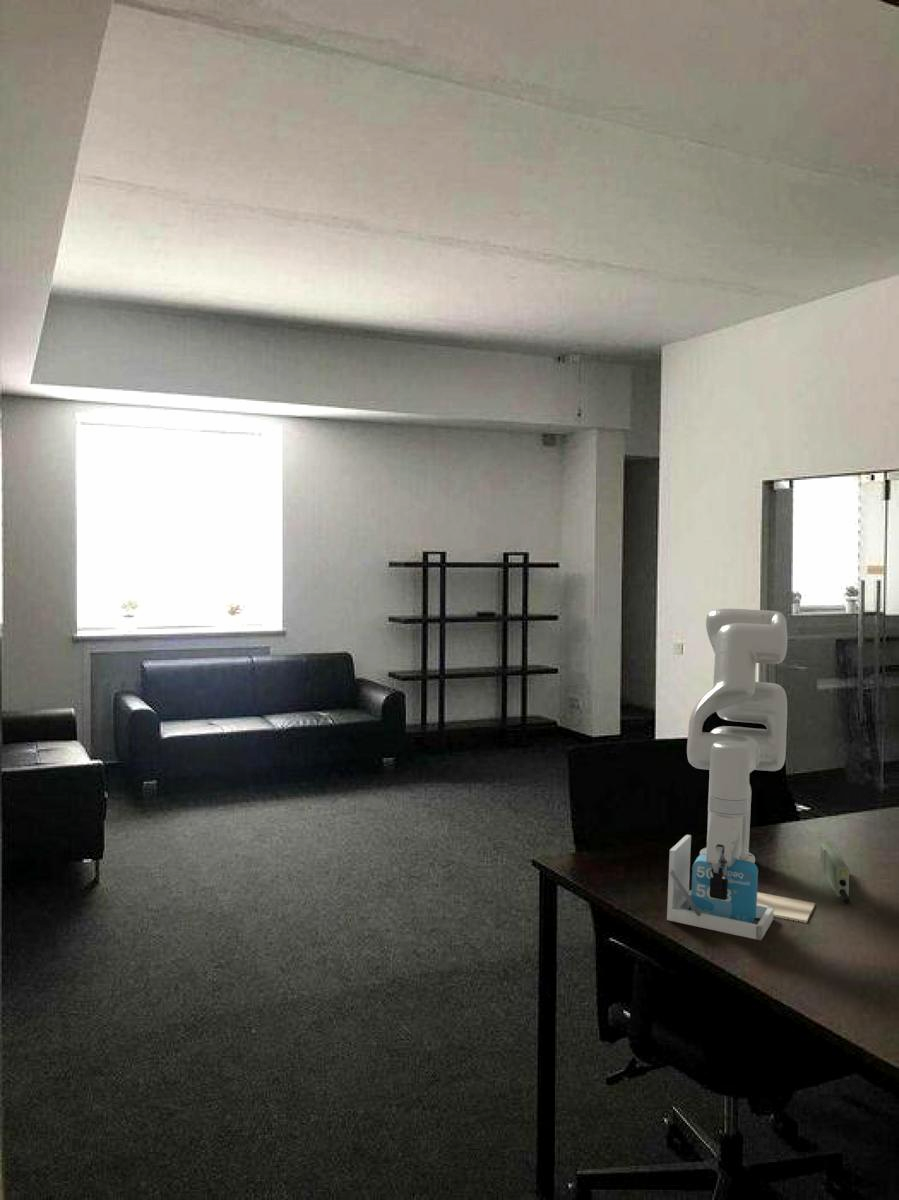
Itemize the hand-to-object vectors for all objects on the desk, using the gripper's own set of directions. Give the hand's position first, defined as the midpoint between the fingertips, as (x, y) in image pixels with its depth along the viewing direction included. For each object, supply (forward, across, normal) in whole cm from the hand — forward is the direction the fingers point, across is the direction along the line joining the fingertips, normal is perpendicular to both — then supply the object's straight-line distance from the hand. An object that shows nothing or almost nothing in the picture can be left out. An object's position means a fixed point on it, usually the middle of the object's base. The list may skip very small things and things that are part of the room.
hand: (724, 890), depth 189 cm
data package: (+6, 0, 0) cm, 6 cm away
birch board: (+6, -13, +6) cm, 16 cm away
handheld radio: (+6, -34, +17) cm, 39 cm away
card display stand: (+6, 0, 0) cm, 6 cm away
